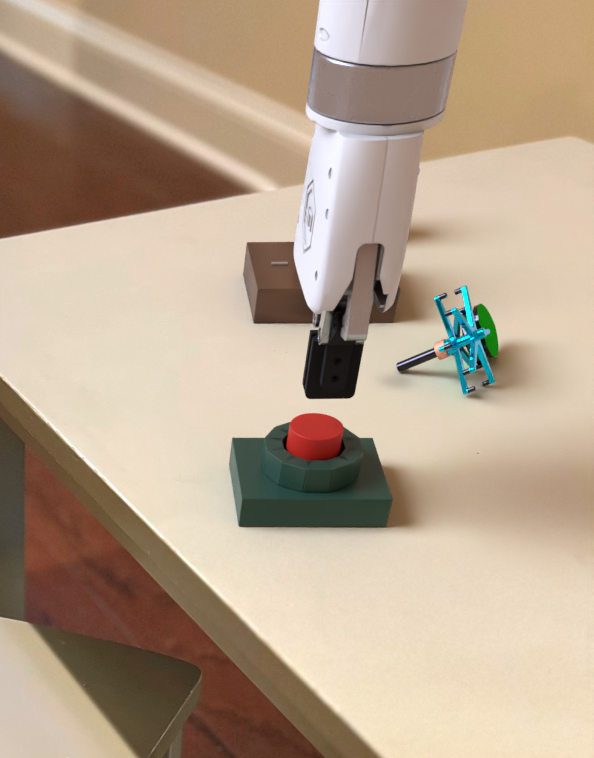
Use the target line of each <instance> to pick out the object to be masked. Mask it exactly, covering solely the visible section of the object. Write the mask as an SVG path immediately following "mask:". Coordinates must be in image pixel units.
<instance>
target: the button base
mask: <svg viewBox="0 0 594 758" xmlns="http://www.w3.org/2000/svg"><path fill="white" fill-rule="evenodd" d="M290 422H291V421H288V422H285V423H282V424H279V425H276V426H274V427H273V428H272V429H271V430H270V431H269V432H268V433H267V434H266V436H264V437H232V438H231V442H230V443H231V445H230V453H229V461H228V467H229V474H230V480H231V487H232V493H233V498H234V506H235V513H236V517H237V518H236V519H237V525H238V527H314V528H315V527H317V528H319V527H321V528H322V527H325V528H327V527H331V528H332V527H333V528H337V527H339V528H342V527H343V528H345V527H346V528H386V527H387V525H388V521H389V517H390V513H391V508H392V504H393V496H392V493H391V491H390V487H389V484H388V481H387V478H386V475H385V472H384V469H383V465H382V462H381V459H380V456H379V453H378V450H377V447H376V444H375V441H374V438H373V437H359V436H358V435H357V434H355V433H354V432H352V431H351V430H349V429H348V428H346V427H345V426H343V427H344V432H343V437H342V442H341V447H340V452H339V454H338V455H337V457H335V458H332V459H329V460H326V461H315V460H306V459H302V458H299V457H295V456H293V455H292V454H291V453H289V452H288V451H287V448H286V444H287V438H288V432H289V426H290Z"/></svg>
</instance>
